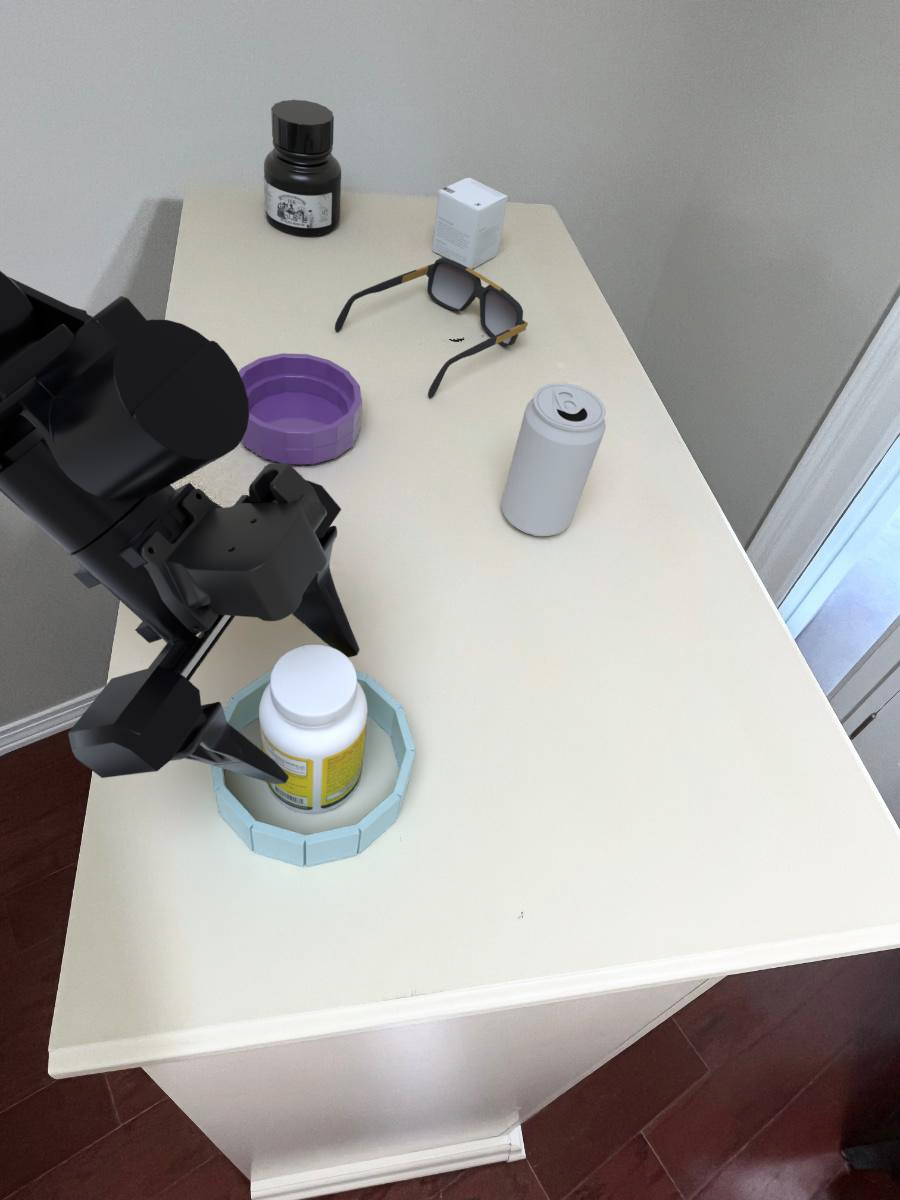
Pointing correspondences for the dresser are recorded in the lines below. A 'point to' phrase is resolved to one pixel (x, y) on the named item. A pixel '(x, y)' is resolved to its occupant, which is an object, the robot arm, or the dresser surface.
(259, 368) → the purple bowl
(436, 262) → the sunglasses
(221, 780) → the light blue ring
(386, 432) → the dresser surface
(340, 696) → the pill bottle
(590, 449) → the beverage can
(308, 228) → the ink bottle
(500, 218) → the white cardboard box
